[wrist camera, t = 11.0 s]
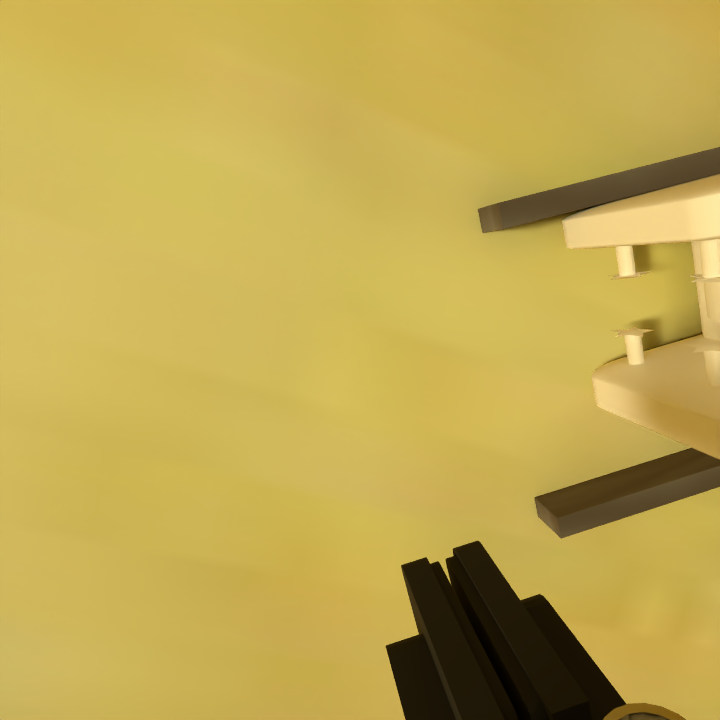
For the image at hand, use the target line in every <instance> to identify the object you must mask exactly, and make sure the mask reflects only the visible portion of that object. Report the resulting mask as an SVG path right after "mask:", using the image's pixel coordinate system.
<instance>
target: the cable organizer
mask: <svg viewBox="0 0 720 720" xmlns="http://www.w3.org/2000/svg"><path fill="white" fill-rule="evenodd" d="M562 224H563V230H564V236H565V242H566V247H567V248H569V249H586V248H601V247H615V250H616V256H617V263H618V269H619V274H618V275H610V276H613V277H615V278H613V279H624V278H634V277H640V275H641V274H645V273H648V272H651V271H646V272H636V268H635V261H634V255H633V248H632V245H647V244H662V243H677V242H691V243H692V252H693V260H694V268H695V275H690V277H696V280H694V281H692V282H696V284H697V293H698V301H699V309H700V317H701V326H702V333H703V334H701V335H697V336H694V337H691V338H687V339H684V340H681V341H677V342H674V343H671V344H667V345H664V346H660V347H657V348H654V349H650V350H647V351H644V352H643V346H642V339H641V337H643V333H644V332H648V331H653V330H649V329H638V328H637V327H632V328H629V329H623V330H612V331H614V332H617V333H619V334H618V335H617V336H615V337H618V336H624V337H625V344H626V350H627V357H624V358H620V359H617V360H614V361H611V362H609V363H606V364H604V365H602V366H600V367H599V368H597V369H596V370H595V371H594V372H593V373H592V375H591V376H592V382H593V388H594V394H595V400H596V404H597V406H598V407H600V408H601V409H604V410H606V411H608V412H611V413H613V414H615V415H618V416H620V417H622V418H625V419H627V420H629V421H631V422H634V423H636V424H638V425H641V426H643V427H645V428H648V429H650V430H652V431H655V432H657V433H659V434H662V435H664V436H666V437H668V438H671V439H673V440H675V441H678V442H680V443H682V444H685V445H687V446H689V447H692V448H694V449H696V450H698V451H701V452H703V453H705V454H708V455H710V456H712V457H715V458H717V459H720V174H716V175H712V176H709V177H705V178H701V179H697V180H694V181H690V182H686V183H682V184H678V185H675V186H671V187H667V188H663V189H660V190H656V191H652V192H648V193H644V194H641V195H637V196H633V197H629V198H626V199H622V200H618V201H614V202H610V203H607V204H603V205H599V206H596V207H593V208H589V209H586V210H583V211H580V212H578V213H575V214H573V215H570V216H568V217H566V218H565V219H563V220H562ZM611 280H612V279H611Z"/></svg>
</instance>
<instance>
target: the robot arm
mask: <svg viewBox="0 0 720 720" xmlns="http://www.w3.org/2000/svg"><path fill="white" fill-rule="evenodd" d="M453 555H454V556H453V557H450V558H447V559H446V564H447V569H448V573H449V577H450V581H451V584H450V582H449V580H448V578H447V576H446V574H445V572H444V571H443V569H442V567H441V565H440V563H439V562H438V561H437V562H434V563H431V564H430V563H429V561H428V559H427V558H426V557H425V558H422V559H419V560H416V561H413V562H410V563H407V564H404V565H401V568H402V572H403V576H404V580H405V583H406V587H407V591H408V595H409V599H410V602H411V606H412V610H413V614H414V617H415V621H416V625H417V629H418V632H419V635H416V636H413V637H410V638H407V639H404V640H401V641H398V642H395V643H392V644H389V645H386V649H387V653H388V656H389V660H390V664H391V668H392V671H393V675H394V679H395V682H396V686H397V690H398V693H399V697H400V701H401V705H402V708H403V712H404V716H405V719H406V720H686V719H684V718H683V717H682V716H680V715H679V714H677V713H675V712H673V711H670V710H668V709H666V708H664V707H662V706H657V705H652V704H647V703H633V704H626V703H625V702H624V700H623V699H622V698H621V696H620V695H619V694H618V692H617V691H616V690H615V688H614V687H613V686H612V685H611V683H610V682H609V681H608V679H607V678H606V677H605V675H604V674H603V673H602V671H601V670H600V669H599V667H598V666H597V665H596V664H595V662H594V661H593V660H592V658H591V657H590V656H589V654H588V653H587V652H586V650H585V649H584V648H583V647H582V645H581V644H580V643H579V641H578V640H577V639H576V637H575V636H574V635H573V633H572V632H571V631H570V629H569V628H568V627H567V626H566V624H565V623H564V622H563V620H562V619H561V618H560V616H559V615H558V614H557V612H556V611H555V610H554V608H553V607H552V606H551V605H550V603H549V602H548V601H547V600H546V599H545V597H544V596H542V595H540V594H538V595H535V596H532V597H529V598H526V599H523V600H520V599H519V598H518V597H517V595H516V594H515V592H514V591H513V589H512V588H511V586H510V585H509V583H508V582H507V581H506V579H505V578H504V576H503V575H502V573H501V572H500V570H499V569H498V567H497V566H496V564H495V563H494V562H493V560H492V559H491V557H490V556H489V554H488V553H487V551H486V550H485V548H484V547H483V546H482V544H481V543H480V542H479V541H475V542H472V543H469V544H466V545H463V546H459V547H456V548H453ZM451 585H452V586H451Z"/></svg>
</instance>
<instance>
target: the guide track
mask: <svg viewBox="0 0 720 720" xmlns="http://www.w3.org/2000/svg"><path fill="white" fill-rule="evenodd" d="M719 173H720V147H718V148H714V149H710V150H706V151H702V152H698V153H694V154H690V155H686V156H682V157H678V158H674V159H671V160H667V161H663V162H659V163H655V164H651V165H647V166H643V167H639V168H635V169H631V170H627V171H623V172H619V173H615V174H611V175H607V176H603V177H599V178H595V179H591V180H587V181H584V182H580V183H576V184H572V185H568V186H564V187H560V188H556V189H552V190H548V191H544V192H540V193H536V194H532V195H528V196H524V197H520V198H516V199H512V200H508V201H504V202H500V203H497V204H493V205H490V206H487V207H483V208H480V209H478V212H479V217H480V222H481V227H482V232H483V233H485V232H491V231H496V230H502V229H506V228H510V227H514V226H518V225H522V224H525V223H529V222H533V221H537V220H541V219H545V218H549V217H553V216H556V215H560V214H564V213H568V212H572V211H576V210H580V209H583V208H587V207H591V206H595V205H599V204H603V203H607V202H611V201H614V200H618V199H622V198H626V197H630V196H634V195H638V194H642V193H645V192H649V191H653V190H657V189H661V188H665V187H669V186H672V185H676V184H680V183H684V182H688V181H692V180H696V179H700V178H703V177H707V176H711V175H715V174H719ZM717 487H720V459H717V458H715V457H712V456H710V455H708V454H705V453H703V452H701V451H698V450H696V449H694V448H690V449H687V450H684V451H681V452H678V453H675V454H671V455H668V456H665V457H662V458H659V459H656V460H653V461H649V462H646V463H643V464H640V465H637V466H634V467H630V468H627V469H624V470H621V471H618V472H615V473H611V474H608V475H605V476H602V477H599V478H596V479H592V480H589V481H586V482H583V483H580V484H577V485H573V486H570V487H567V488H564V489H561V490H558V491H554V492H551V493H548V494H545V495H542V496H539V497H535V502H536V508H537V513H538V517H539V518H540V519H541V520H542V521H543V522H544V523H545V524H546V525H548V526H549V527H550V528H551V529H552V530H553V531H554V532H555V533H556V534H557V535H558V536H559V537H560V538H564V537H567V536H570V535H573V534H576V533H579V532H582V531H585V530H589V529H592V528H595V527H598V526H601V525H604V524H607V523H610V522H613V521H616V520H619V519H622V518H625V517H628V516H631V515H635V514H638V513H641V512H644V511H647V510H650V509H653V508H656V507H659V506H662V505H665V504H668V503H671V502H674V501H677V500H681V499H684V498H687V497H690V496H693V495H696V494H699V493H702V492H705V491H708V490H711V489H714V488H717Z"/></svg>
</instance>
